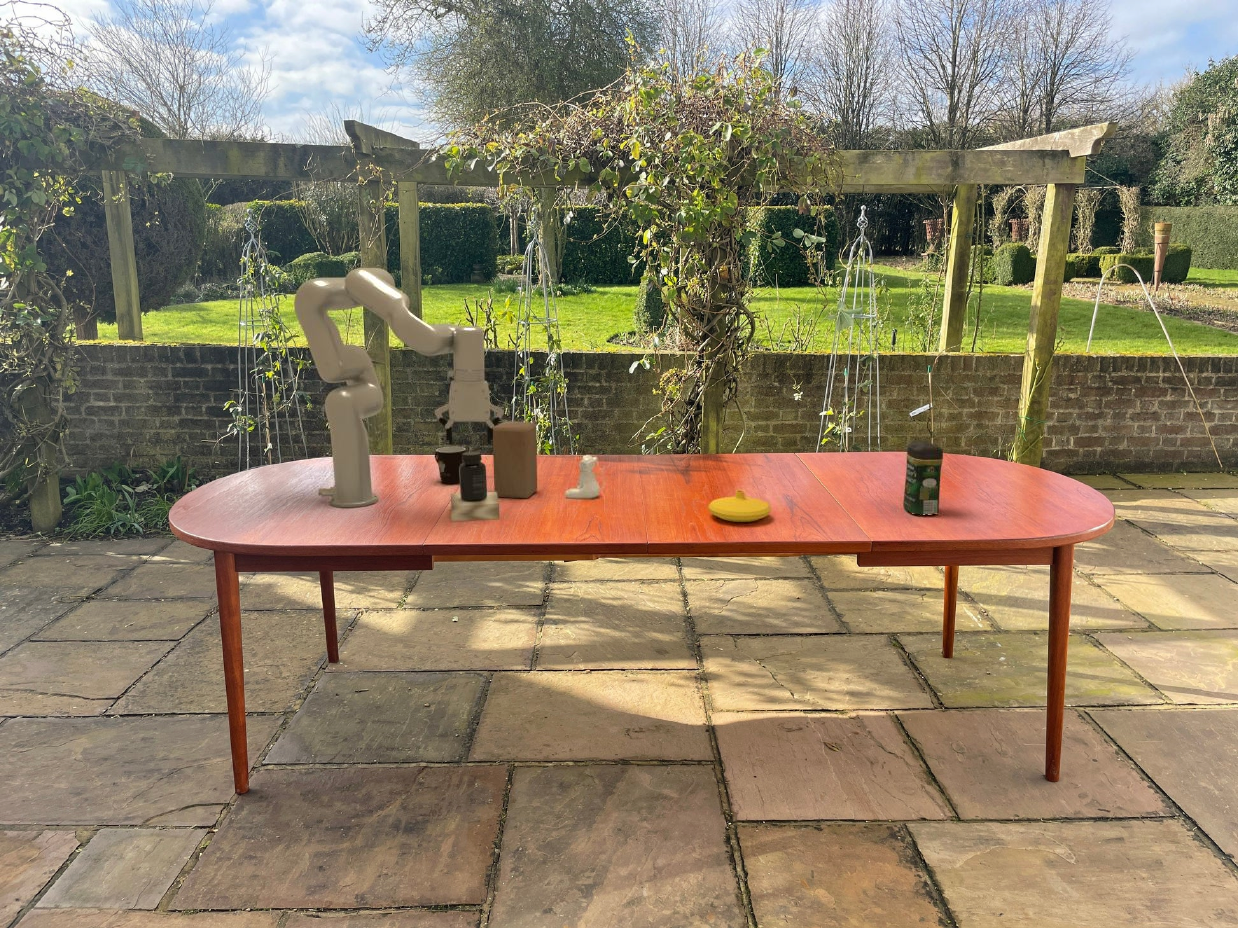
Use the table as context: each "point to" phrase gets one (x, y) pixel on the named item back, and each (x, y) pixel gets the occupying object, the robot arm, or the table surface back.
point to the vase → (739, 508)
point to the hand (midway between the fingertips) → (469, 442)
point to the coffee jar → (923, 478)
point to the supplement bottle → (472, 477)
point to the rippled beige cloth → (475, 508)
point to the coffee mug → (449, 464)
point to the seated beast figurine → (585, 481)
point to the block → (515, 459)
